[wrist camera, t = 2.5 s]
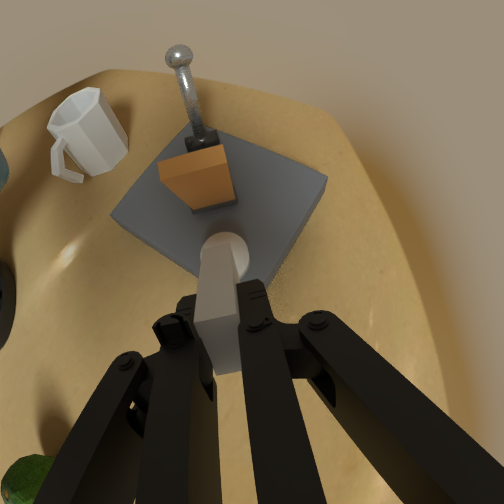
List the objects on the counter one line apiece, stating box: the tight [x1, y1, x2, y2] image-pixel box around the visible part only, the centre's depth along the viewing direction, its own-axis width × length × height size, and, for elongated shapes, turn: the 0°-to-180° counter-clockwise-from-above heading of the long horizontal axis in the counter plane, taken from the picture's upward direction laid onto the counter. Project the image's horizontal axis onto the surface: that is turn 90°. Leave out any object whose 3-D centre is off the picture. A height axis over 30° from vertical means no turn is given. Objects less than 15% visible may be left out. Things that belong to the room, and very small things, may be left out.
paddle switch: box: [157, 144, 239, 215], centre depth 22 cm, size 4×2×12 cm, turn 103°
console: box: [110, 122, 328, 289], centre depth 30 cm, size 18×15×3 cm
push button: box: [200, 232, 250, 280], centre depth 25 cm, size 4×4×2 cm
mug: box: [47, 87, 128, 183], centre depth 31 cm, size 12×9×10 cm
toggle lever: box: [165, 45, 220, 153], centre depth 25 cm, size 4×3×12 cm
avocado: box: [1, 454, 55, 504], centre depth 15 cm, size 8×8×12 cm
